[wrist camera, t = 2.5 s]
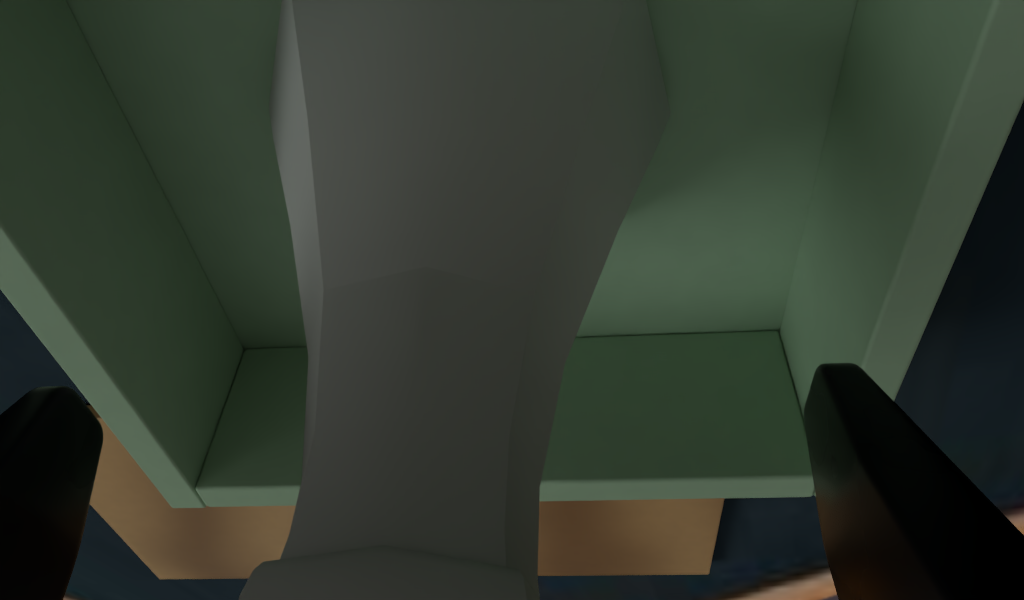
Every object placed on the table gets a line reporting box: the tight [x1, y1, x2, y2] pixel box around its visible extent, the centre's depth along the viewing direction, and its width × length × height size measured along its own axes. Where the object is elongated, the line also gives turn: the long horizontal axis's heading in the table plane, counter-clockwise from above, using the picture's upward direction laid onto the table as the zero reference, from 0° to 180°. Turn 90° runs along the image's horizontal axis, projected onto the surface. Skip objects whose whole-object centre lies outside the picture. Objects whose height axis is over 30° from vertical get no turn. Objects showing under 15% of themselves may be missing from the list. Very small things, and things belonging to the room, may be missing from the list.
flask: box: [239, 0, 671, 600], centre depth 11 cm, size 7×7×10 cm
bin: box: [0, 0, 1024, 508], centre depth 13 cm, size 15×15×4 cm
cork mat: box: [87, 405, 725, 579], centre depth 24 cm, size 20×10×1 cm, turn 95°
